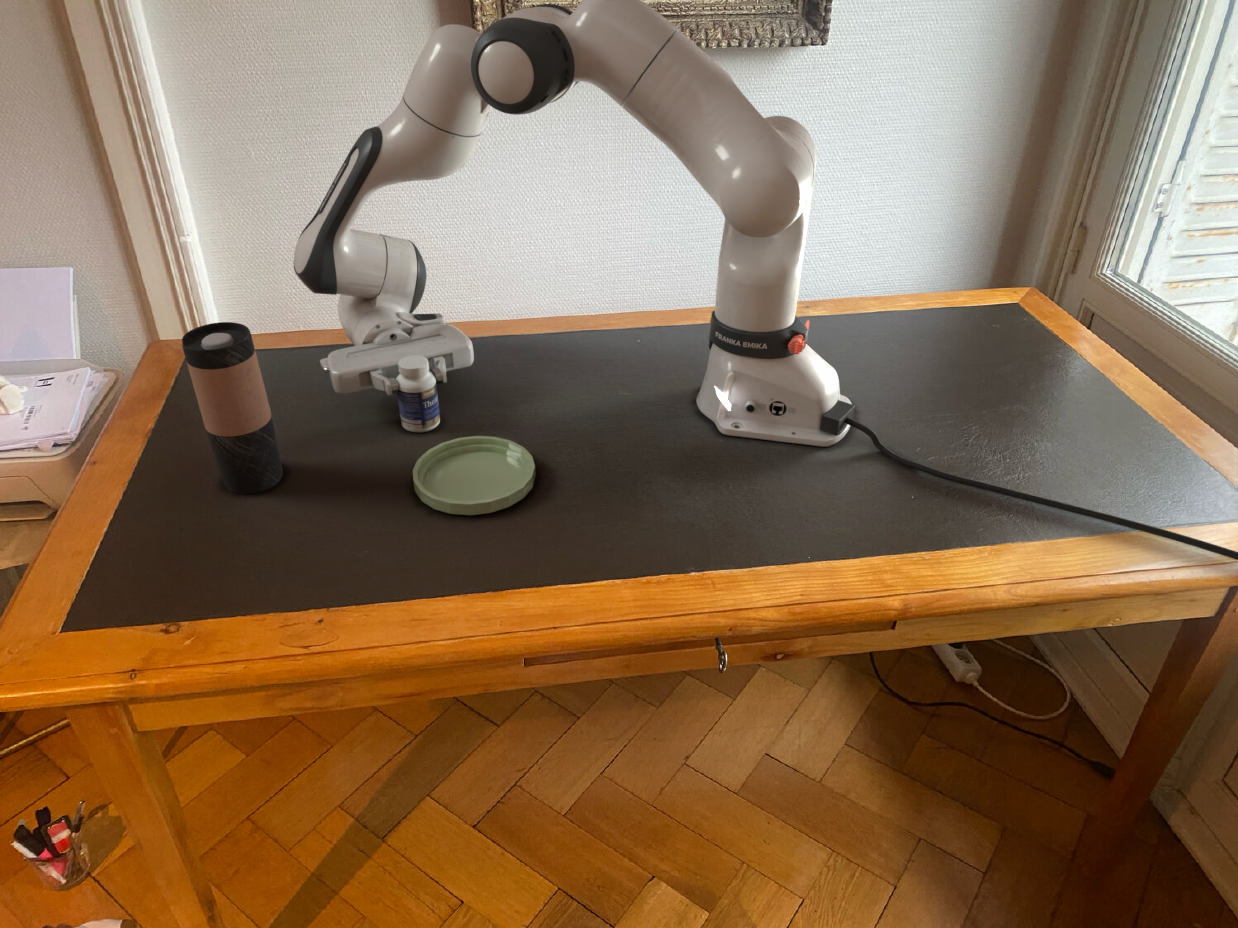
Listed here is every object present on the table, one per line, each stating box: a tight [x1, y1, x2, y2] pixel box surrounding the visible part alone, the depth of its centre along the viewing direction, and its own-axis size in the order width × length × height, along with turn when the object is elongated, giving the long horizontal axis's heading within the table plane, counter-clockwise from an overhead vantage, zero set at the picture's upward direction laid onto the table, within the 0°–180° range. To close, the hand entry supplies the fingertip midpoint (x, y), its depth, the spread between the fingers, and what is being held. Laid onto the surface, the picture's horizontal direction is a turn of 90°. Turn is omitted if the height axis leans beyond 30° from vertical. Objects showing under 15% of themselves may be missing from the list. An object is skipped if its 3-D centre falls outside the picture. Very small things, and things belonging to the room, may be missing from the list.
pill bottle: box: [396, 355, 441, 433], centre depth 122 cm, size 5×5×10 cm
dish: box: [412, 435, 537, 516], centre depth 112 cm, size 15×15×2 cm
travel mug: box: [181, 321, 284, 495], centre depth 107 cm, size 8×8×20 cm
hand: (418, 384), depth 120 cm, fingers closed on pill bottle, 5 cm apart
